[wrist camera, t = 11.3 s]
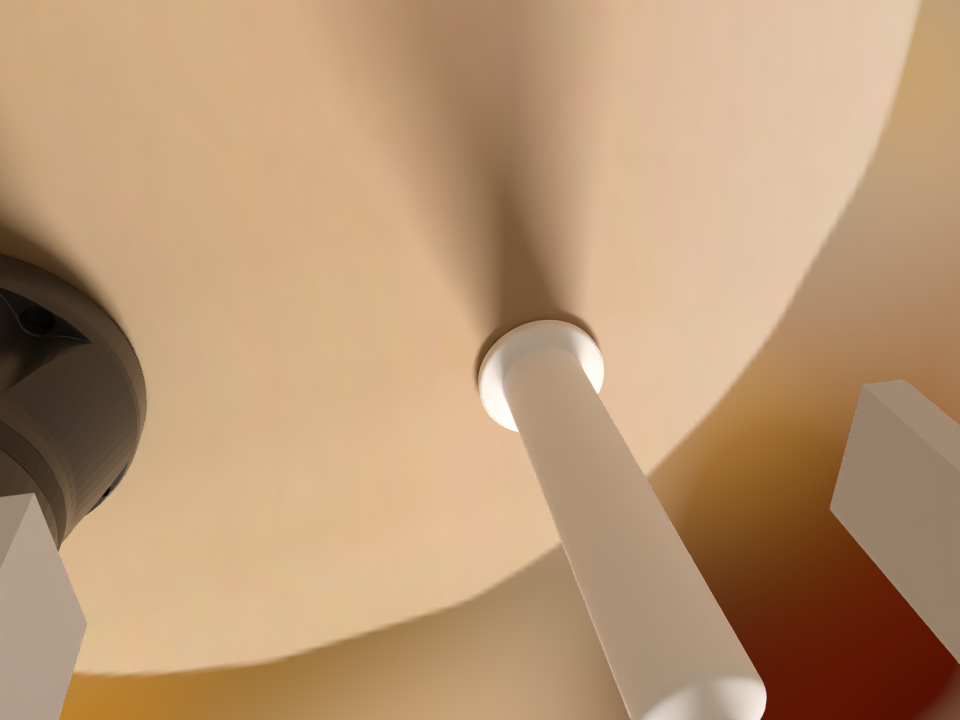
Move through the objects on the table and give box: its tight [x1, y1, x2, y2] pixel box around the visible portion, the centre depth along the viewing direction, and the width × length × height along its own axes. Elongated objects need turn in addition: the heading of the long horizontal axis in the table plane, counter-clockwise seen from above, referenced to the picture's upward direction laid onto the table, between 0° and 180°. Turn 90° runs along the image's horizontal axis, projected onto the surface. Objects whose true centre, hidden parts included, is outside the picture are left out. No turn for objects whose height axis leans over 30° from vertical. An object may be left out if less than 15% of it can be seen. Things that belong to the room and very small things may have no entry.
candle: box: [478, 320, 766, 720], centre depth 34 cm, size 7×7×25 cm
